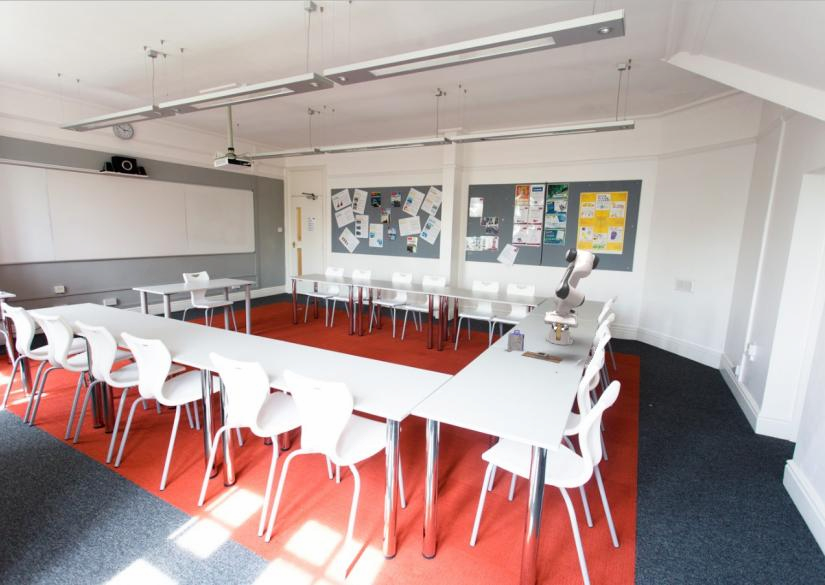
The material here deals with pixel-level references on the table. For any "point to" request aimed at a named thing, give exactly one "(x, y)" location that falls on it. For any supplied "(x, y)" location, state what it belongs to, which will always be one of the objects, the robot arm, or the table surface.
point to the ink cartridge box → (515, 341)
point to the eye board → (542, 356)
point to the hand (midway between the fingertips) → (558, 330)
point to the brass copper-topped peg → (558, 332)
